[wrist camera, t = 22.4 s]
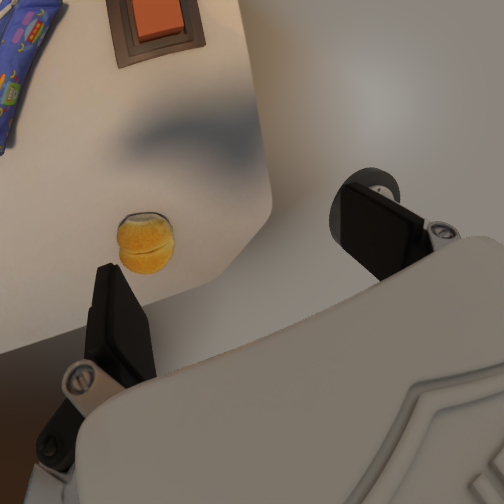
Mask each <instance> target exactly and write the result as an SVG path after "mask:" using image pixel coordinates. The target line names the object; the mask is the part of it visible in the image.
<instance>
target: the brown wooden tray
mask: <svg viewBox="0 0 504 504" xmlns="http://www.w3.org/2000/svg"><path fill="white" fill-rule="evenodd" d="M179 2H180V7H181V13H182V18H183V22H184V27H183V29H182V30H181V32H180V34H177V35H172V36H168V37H164V38H160V39H156V40H152V41H148V42H145V43H141V44H139V40H138V35H137V30H136V25H135V19H134V14H133V8H132V0H106V5H107V11H108V18H109V24H110V29H111V35H112V40H113V46H114V51H115V55H116V60H117V65H118V68H119V69H120V68H123V67H126V66H129V65H132V64H135V63H138V62H142V61H145V60H148V59H152V58H156V57H159V56H163V55H167V54H171V53H175V52H179V51H184V50H189V49H193V48H199V47H204V46H205V45H206V42H205V37H204V32H203V27H202V23H201V18H200V13H199V8H198V3H197V0H179Z"/></svg>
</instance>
